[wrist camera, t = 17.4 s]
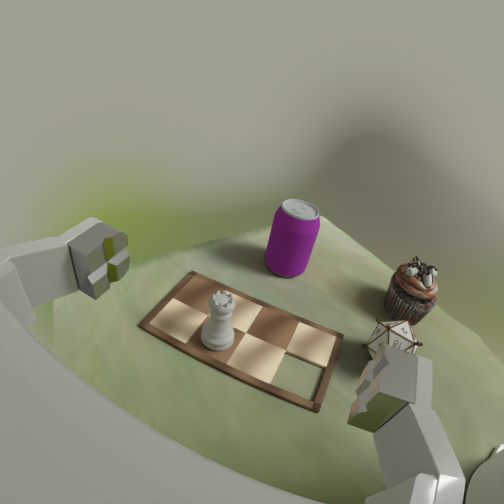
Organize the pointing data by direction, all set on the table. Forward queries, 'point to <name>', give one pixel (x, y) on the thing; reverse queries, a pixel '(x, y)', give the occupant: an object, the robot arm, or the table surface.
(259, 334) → the board
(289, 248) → the beverage can
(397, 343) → the game die
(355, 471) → the table surface
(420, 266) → the cupcake
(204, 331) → the rook chess piece
